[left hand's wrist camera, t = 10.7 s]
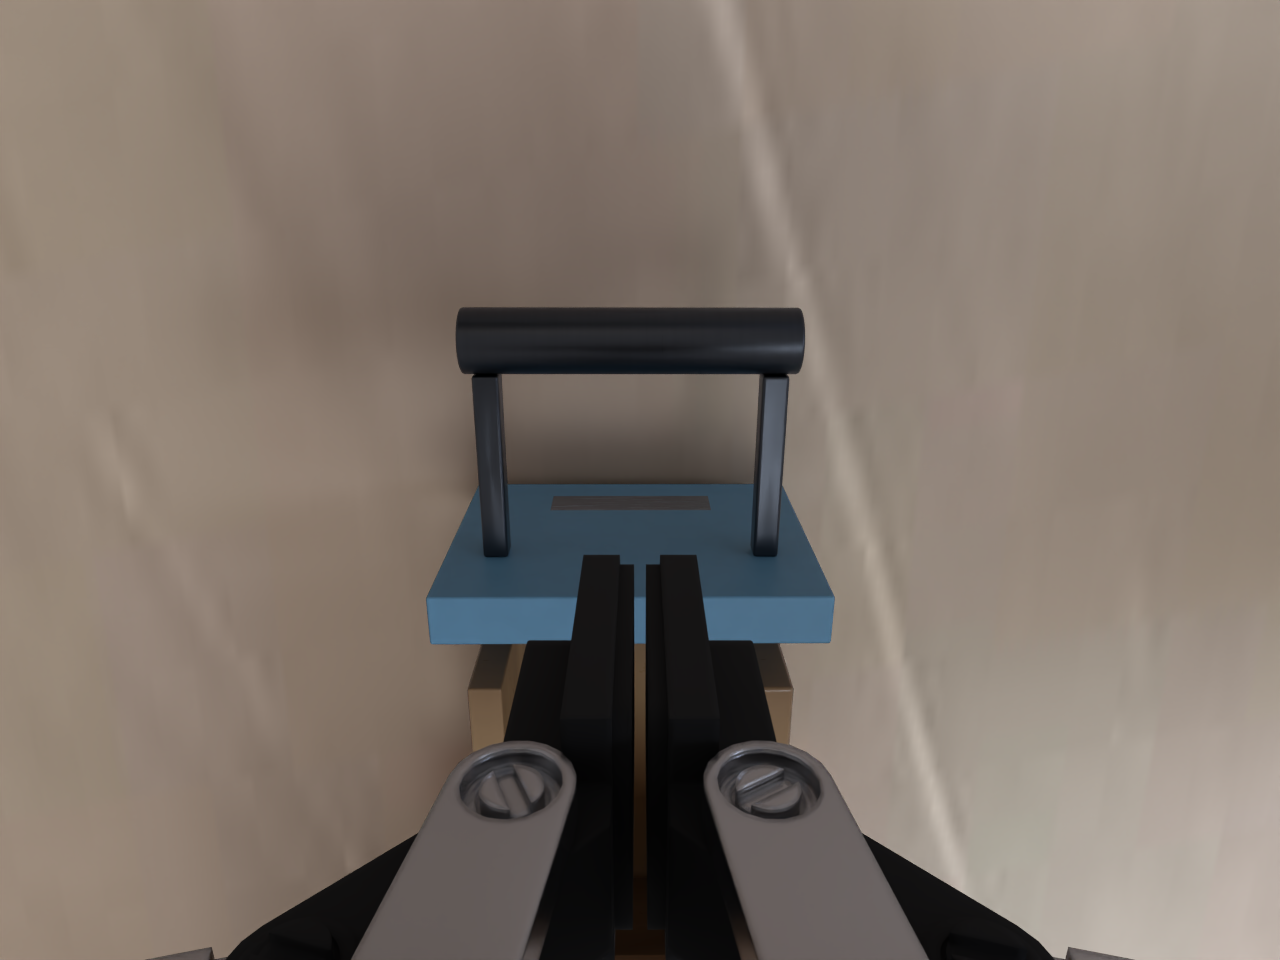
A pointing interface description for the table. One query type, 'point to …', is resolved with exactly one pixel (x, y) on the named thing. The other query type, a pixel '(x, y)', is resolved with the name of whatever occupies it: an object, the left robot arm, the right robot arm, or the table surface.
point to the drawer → (626, 518)
